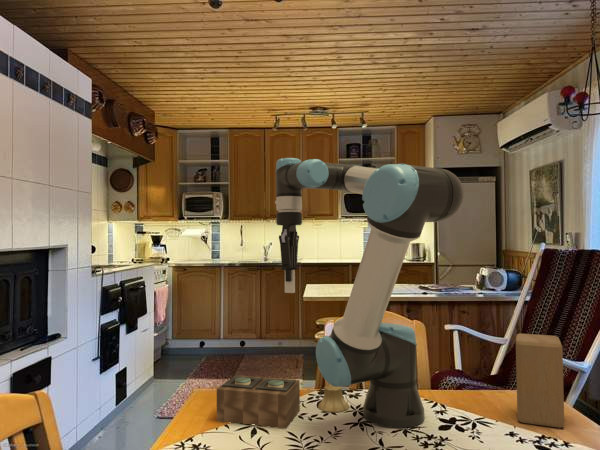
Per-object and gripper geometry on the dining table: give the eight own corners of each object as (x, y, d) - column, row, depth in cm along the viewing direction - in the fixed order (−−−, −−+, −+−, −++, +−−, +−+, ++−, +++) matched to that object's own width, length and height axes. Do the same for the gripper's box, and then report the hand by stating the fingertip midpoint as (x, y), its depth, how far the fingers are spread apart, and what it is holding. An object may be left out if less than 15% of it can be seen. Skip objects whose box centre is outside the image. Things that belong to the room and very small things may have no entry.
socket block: (299, 410, 123) (299, 378, 123) (286, 428, 111) (285, 393, 112) (236, 404, 128) (235, 373, 128) (216, 421, 116) (216, 387, 116)
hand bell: (313, 410, 123) (313, 349, 124) (324, 400, 131) (323, 342, 131) (343, 414, 120) (343, 351, 121) (352, 403, 128) (352, 344, 128)
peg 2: (286, 413, 120) (285, 380, 120) (281, 419, 116) (281, 385, 116) (271, 411, 121) (271, 379, 121) (266, 417, 117) (265, 383, 117)
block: (561, 415, 118) (559, 335, 119) (564, 430, 109) (562, 343, 110) (517, 409, 122) (515, 332, 123) (517, 423, 113) (515, 340, 114)
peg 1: (253, 410, 122) (252, 377, 122) (247, 415, 118) (247, 382, 119) (238, 408, 123) (238, 376, 124) (232, 414, 119) (232, 381, 120)
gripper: (283, 213, 145) (284, 289, 144) (269, 210, 132) (270, 294, 132) (307, 212, 143) (307, 290, 142) (295, 210, 130) (296, 295, 130)
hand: (289, 292), depth 137 cm, fingers closed
